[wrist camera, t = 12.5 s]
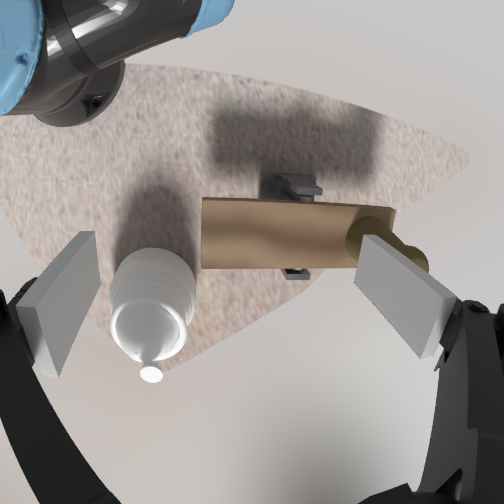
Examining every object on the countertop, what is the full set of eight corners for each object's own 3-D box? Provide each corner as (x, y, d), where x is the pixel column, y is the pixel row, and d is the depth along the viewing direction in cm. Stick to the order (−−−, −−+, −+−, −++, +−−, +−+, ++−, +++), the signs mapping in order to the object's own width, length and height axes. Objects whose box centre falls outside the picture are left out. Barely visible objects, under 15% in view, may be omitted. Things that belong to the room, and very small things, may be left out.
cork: (357, 209, 37) (408, 241, 27) (393, 225, 39) (445, 259, 29) (337, 253, 39) (380, 298, 29) (373, 266, 41) (419, 309, 31)
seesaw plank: (202, 190, 36) (202, 194, 34) (388, 201, 40) (396, 205, 38) (200, 265, 39) (201, 273, 37) (375, 264, 43) (382, 271, 41)
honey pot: (211, 294, 50) (221, 374, 34) (150, 332, 51) (138, 414, 35) (162, 230, 45) (144, 292, 29) (99, 276, 46) (62, 348, 30)
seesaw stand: (259, 172, 44) (276, 185, 35) (313, 176, 46) (341, 190, 37) (253, 249, 49) (267, 280, 39) (304, 250, 50) (327, 279, 41)
